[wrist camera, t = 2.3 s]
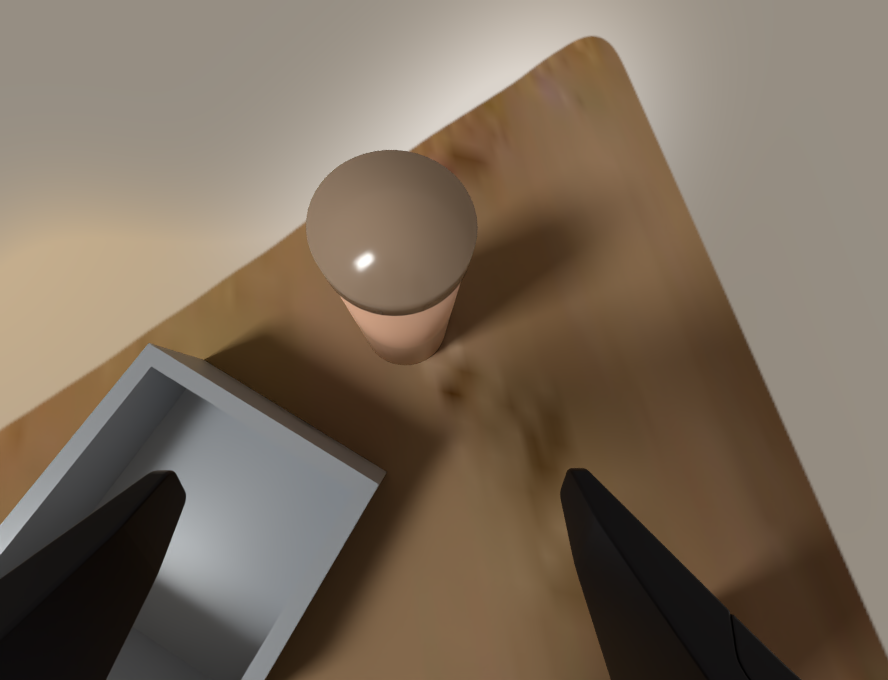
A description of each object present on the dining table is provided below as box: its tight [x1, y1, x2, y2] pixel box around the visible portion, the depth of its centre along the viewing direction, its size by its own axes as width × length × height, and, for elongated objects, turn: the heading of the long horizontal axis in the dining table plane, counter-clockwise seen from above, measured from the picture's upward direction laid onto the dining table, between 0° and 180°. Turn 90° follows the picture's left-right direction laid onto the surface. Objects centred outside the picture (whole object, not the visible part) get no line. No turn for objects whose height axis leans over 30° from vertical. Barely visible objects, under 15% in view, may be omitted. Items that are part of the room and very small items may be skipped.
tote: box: [0, 343, 387, 680], centre depth 18 cm, size 13×13×4 cm
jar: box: [306, 150, 477, 365], centre depth 17 cm, size 5×5×12 cm
